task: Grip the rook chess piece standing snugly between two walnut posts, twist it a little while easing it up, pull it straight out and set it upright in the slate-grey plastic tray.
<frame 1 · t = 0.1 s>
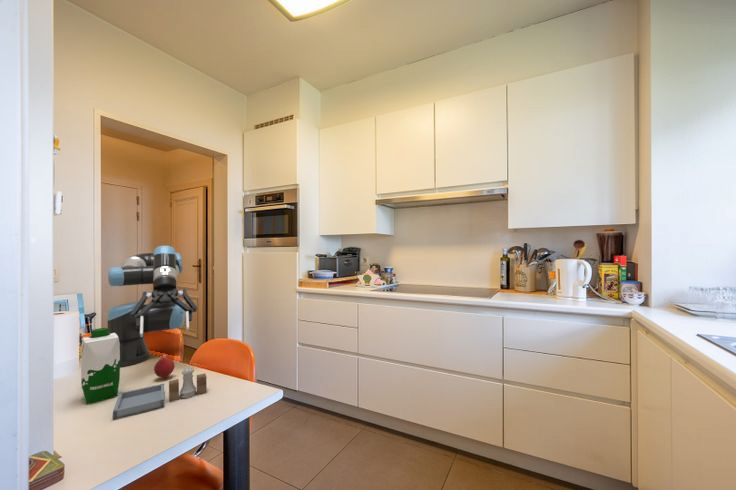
hand: (165, 332, 108), 15 cm above the table, tool tilted 35°, fingers open, 13 cm apart
milk carton: (101, 397, 93), on the table
tray: (141, 403, 88), on the table
rook chess piece: (188, 396, 92), on the table
walnut posts: (188, 395, 92), on the table
red round fruit: (164, 379, 106), on the table
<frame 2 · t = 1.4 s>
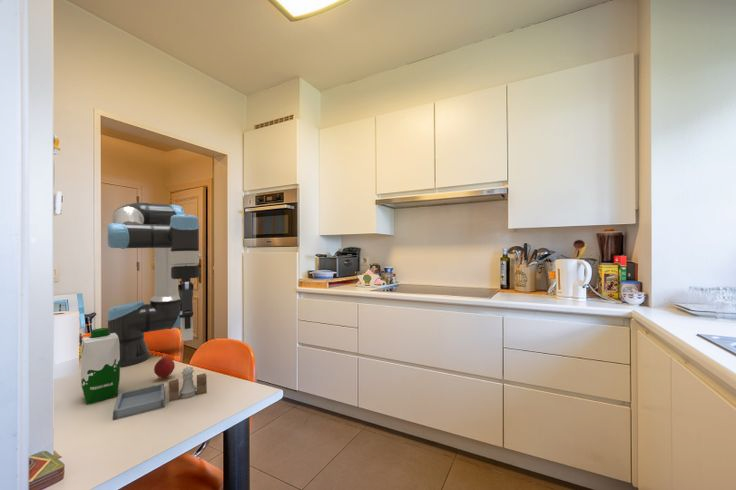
hand: (186, 335, 93), 18 cm above the table, tool pointing down, fingers open, 13 cm apart
nothing on the table moved.
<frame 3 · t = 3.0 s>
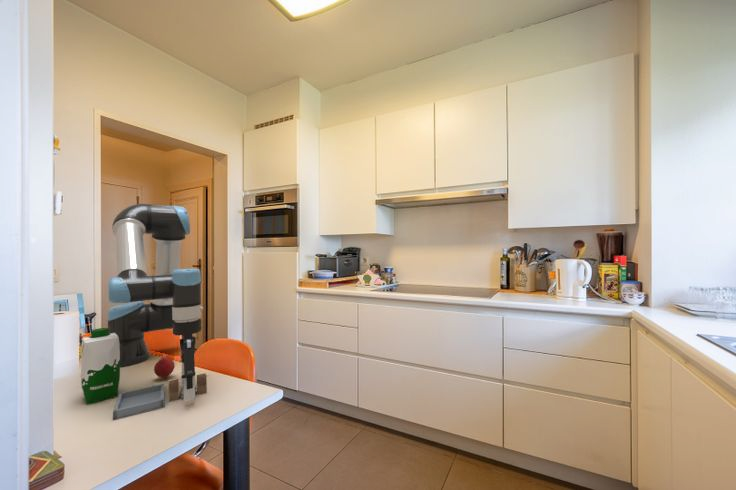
hand: (188, 390, 92), 1 cm above the table, tool pointing down, fingers open, 13 cm apart
nothing on the table moved.
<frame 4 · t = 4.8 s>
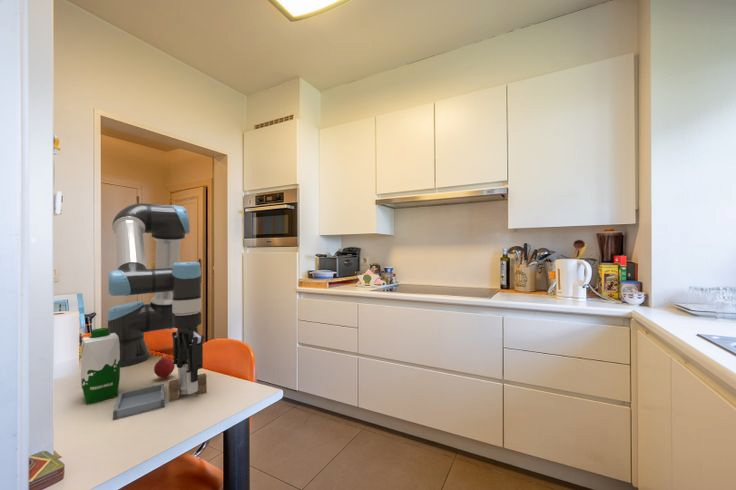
hand: (188, 390, 92), 1 cm above the table, tool pointing down, fingers closed on rook chess piece, 4 cm apart
rook chess piece: (187, 392, 92), point 1 cm above the table, touching gripper
everything else where it was.
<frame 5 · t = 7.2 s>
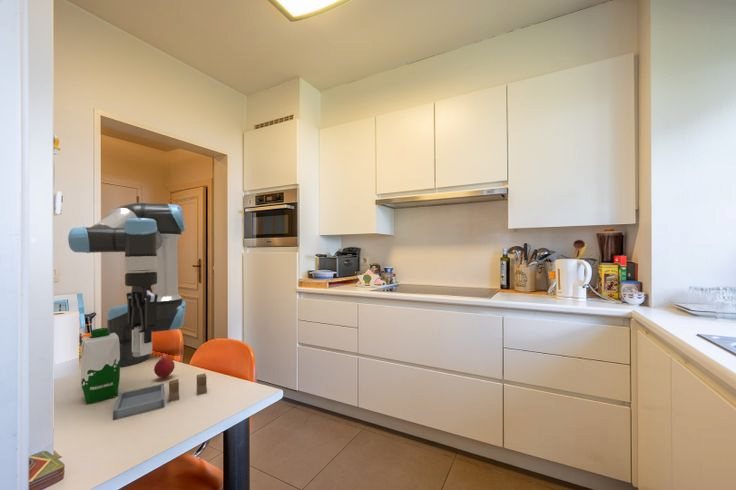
hand: (142, 352, 88), 14 cm above the table, tool pointing down, fingers closed on rook chess piece, 4 cm apart
rook chess piece: (142, 355, 88), point 14 cm above the table, touching gripper
everything else where it was.
when the fingers open (2 cm above the table, at t = 9.8 s): rook chess piece stays where it is, resting on tray.
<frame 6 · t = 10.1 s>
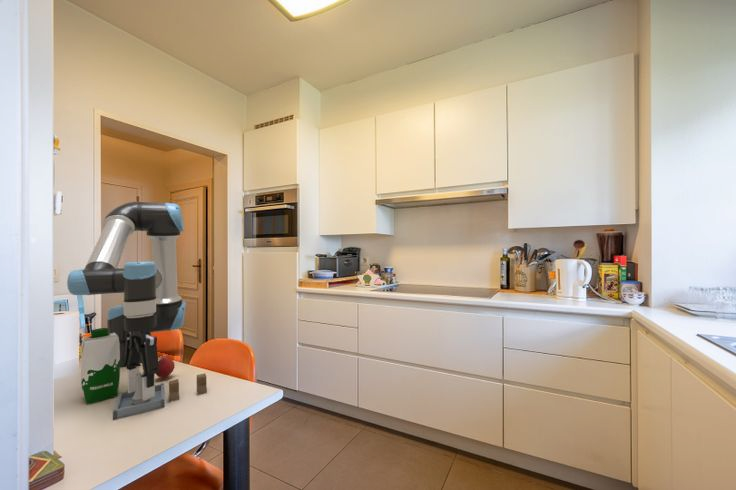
hand: (141, 394, 88), 3 cm above the table, tool pointing down, fingers open, 8 cm apart
rook chess piece: (141, 402, 88), resting on tray
everything else where it was.
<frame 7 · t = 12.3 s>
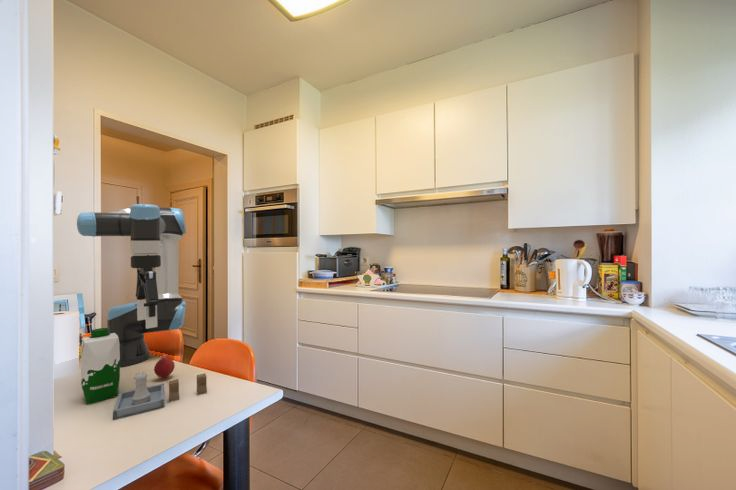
hand: (146, 323, 95), 21 cm above the table, tool pointing down, fingers open, 13 cm apart
nothing on the table moved.
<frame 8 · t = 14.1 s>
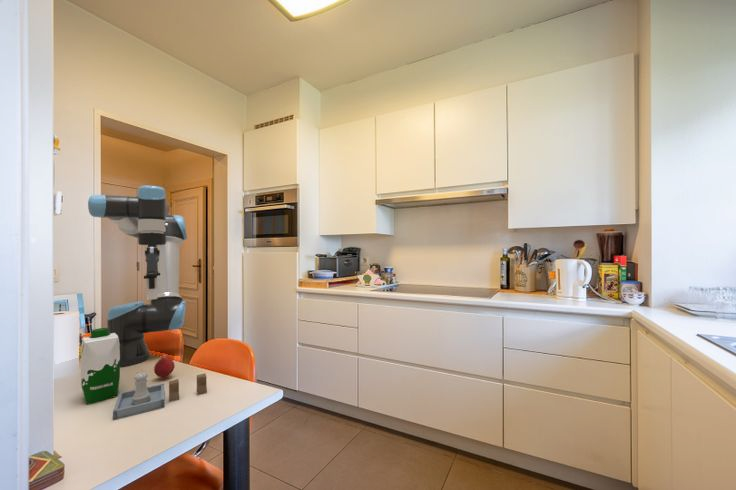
hand: (152, 297, 101), 29 cm above the table, tool pointing down, fingers open, 13 cm apart
nothing on the table moved.
at the end: rook chess piece inside the target area on the tray (0.0 cm from its centre), point 0.4 cm above the tray's base; rook chess piece tilted 0°; the gripper is holding nothing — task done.
